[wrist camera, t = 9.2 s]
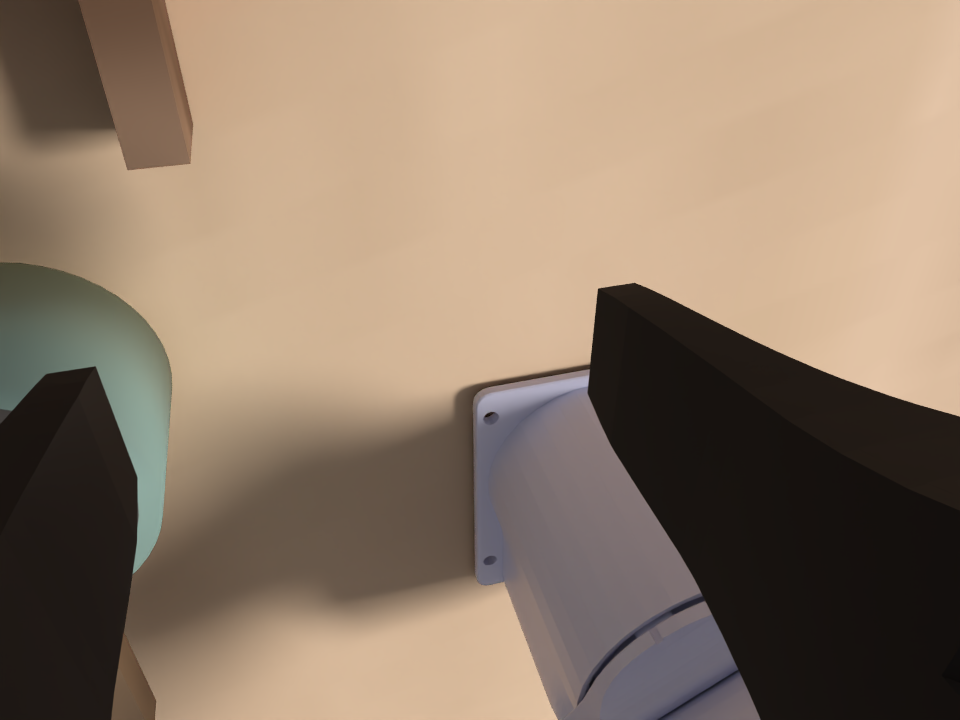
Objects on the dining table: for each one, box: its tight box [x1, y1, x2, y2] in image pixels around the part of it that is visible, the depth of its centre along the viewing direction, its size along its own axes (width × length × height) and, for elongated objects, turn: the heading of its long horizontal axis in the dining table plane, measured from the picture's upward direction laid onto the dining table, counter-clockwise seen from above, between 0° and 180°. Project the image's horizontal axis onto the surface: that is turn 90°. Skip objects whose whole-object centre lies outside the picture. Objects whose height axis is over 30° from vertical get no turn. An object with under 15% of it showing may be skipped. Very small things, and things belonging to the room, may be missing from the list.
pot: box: [0, 263, 172, 720], centre depth 20 cm, size 14×7×5 cm, turn 0°
